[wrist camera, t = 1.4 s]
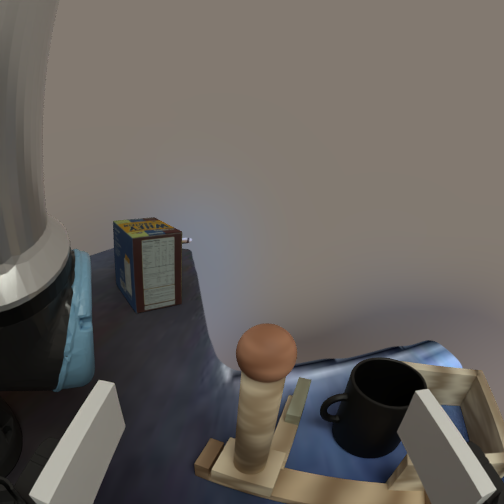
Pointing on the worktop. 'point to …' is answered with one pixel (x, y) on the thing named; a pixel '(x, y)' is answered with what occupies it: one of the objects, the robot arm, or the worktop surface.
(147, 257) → the protein box
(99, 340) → the worktop surface
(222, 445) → the rail
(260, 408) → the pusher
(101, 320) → the worktop surface
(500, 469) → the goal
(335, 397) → the mug
